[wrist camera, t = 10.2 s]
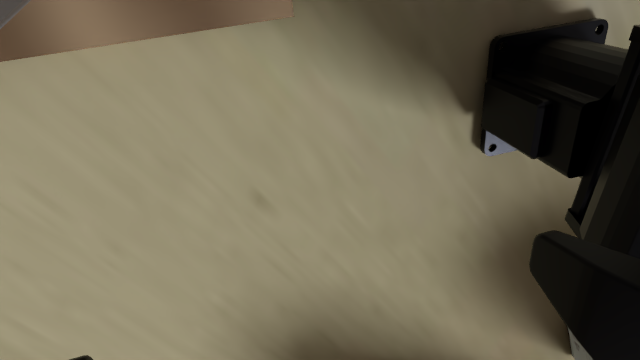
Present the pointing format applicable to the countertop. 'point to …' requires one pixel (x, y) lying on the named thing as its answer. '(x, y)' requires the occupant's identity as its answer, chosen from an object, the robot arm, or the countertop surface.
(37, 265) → the countertop surface
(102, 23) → the gear board
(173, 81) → the countertop surface
